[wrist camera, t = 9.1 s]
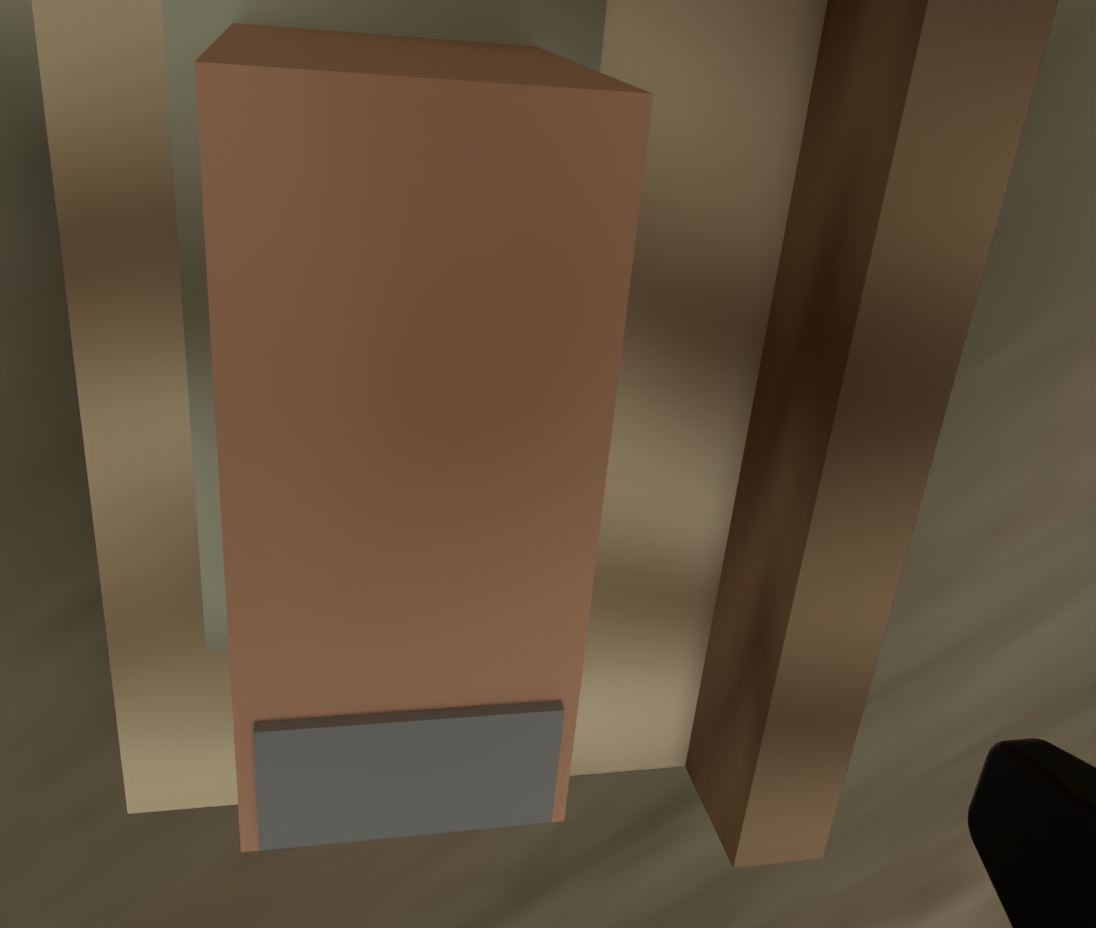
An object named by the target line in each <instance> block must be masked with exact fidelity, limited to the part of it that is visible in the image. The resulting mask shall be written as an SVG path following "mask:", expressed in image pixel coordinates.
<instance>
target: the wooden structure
mask: <svg viewBox="0 0 1096 928" xmlns="http://www.w3.org/2000/svg"><path fill="white" fill-rule="evenodd" d="M31 2H32V11H33V19H34V28H35V36H36V44H37V53H38V61H39V70H40V78H41V87H42V95H43V104H44V112H45V120H46V129H47V137H48V146H49V154H50V163H51V171H52V180H53V188H54V196H55V205H56V213H57V222H58V230H59V239H60V247H61V256H62V264H63V272H64V281H65V289H66V298H67V306H68V315H69V323H70V331H71V340H72V348H73V357H74V365H75V374H76V382H77V391H78V399H79V407H80V416H81V424H82V433H83V441H84V450H85V458H86V467H87V475H88V483H89V492H90V500H91V509H92V517H93V526H94V534H95V543H96V551H97V559H98V568H99V576H100V585H101V593H102V602H103V610H104V619H105V627H106V635H107V644H108V652H109V661H110V669H111V678H112V686H113V694H114V703H115V711H116V720H117V728H118V737H119V745H120V754H121V762H122V770H123V779H124V787H125V796H126V804H127V813H128V814H131V813H142V812H154V811H166V810H177V809H189V808H201V807H212V806H224V805H236V804H238V795H237V778H236V761H235V744H234V727H233V710H232V693H231V676H230V659H229V642H228V625H227V608H226V591H225V574H224V557H223V540H222V523H221V506H220V489H219V472H218V455H217V438H216V421H215V404H214V387H213V370H212V353H211V336H210V319H209V302H208V285H207V268H206V251H205V234H204V217H203V200H202V183H201V166H200V149H199V132H198V115H197V98H196V81H195V64H194V62H195V61H196V60H197V58H198V57H199V56H200V55H201V54H202V53H203V52H204V51H205V50H206V49H207V48H208V47H209V46H210V45H211V44H212V43H213V42H214V41H215V40H216V39H217V38H218V37H219V36H220V35H221V34H222V33H223V32H224V31H225V30H226V29H227V28H228V27H229V26H230V25H231V24H232V23H239V24H252V25H265V26H278V27H290V28H303V29H316V30H329V31H341V32H354V33H367V34H380V35H392V36H405V37H418V38H431V39H443V40H456V41H469V42H482V43H494V44H507V45H520V46H533V47H538V48H541V49H543V50H546V51H548V52H551V53H553V54H556V55H558V56H561V57H563V58H566V59H568V60H571V61H573V62H576V63H578V64H581V65H583V66H586V67H588V68H591V69H593V70H596V71H598V72H601V73H603V74H606V75H608V76H611V77H613V78H616V79H618V80H621V81H623V82H626V83H628V84H631V85H633V86H636V87H638V88H640V89H643V90H645V91H648V92H650V93H653V101H652V109H651V117H650V126H649V134H648V142H647V150H646V158H645V166H644V174H643V183H642V191H641V199H640V207H639V215H638V223H637V232H636V240H635V248H634V256H633V264H632V272H631V280H630V289H629V297H628V305H627V313H626V321H625V329H624V338H623V346H622V354H621V362H620V370H619V378H618V386H617V395H616V403H615V411H614V419H613V427H612V435H611V443H610V452H609V460H608V468H607V476H606V484H605V492H604V501H603V509H602V517H601V525H600V533H599V541H598V549H597V558H596V566H595V574H594V582H593V590H592V598H591V607H590V615H589V623H588V631H587V639H586V647H585V655H584V664H583V672H582V680H581V688H580V696H579V704H578V712H577V721H576V729H575V737H574V745H573V753H572V761H571V770H570V776H573V775H585V774H597V773H608V772H620V771H631V770H643V769H655V768H666V767H678V766H685V767H686V769H687V771H688V773H689V775H690V777H691V779H692V781H693V784H694V786H695V788H696V790H697V792H698V794H699V796H700V798H701V801H702V803H703V805H704V807H705V809H706V811H707V813H708V815H709V818H710V820H711V822H712V824H713V826H714V828H715V830H716V832H717V835H718V837H719V839H720V841H721V843H722V845H723V847H724V849H725V852H726V854H727V856H728V858H729V860H730V862H731V864H732V866H733V868H738V867H747V866H756V865H765V864H774V863H783V862H792V861H801V860H810V859H819V858H823V856H824V852H825V848H826V845H827V841H828V837H829V834H830V830H831V826H832V823H833V819H834V815H835V812H836V808H837V805H838V801H839V797H840V794H841V790H842V786H843V783H844V779H845V775H846V772H847V768H848V764H849V761H850V757H851V754H852V750H853V746H854V743H855V739H856V735H857V732H858V728H859V724H860V721H861V717H862V713H863V710H864V706H865V703H866V699H867V695H868V692H869V688H870V684H871V681H872V677H873V673H874V670H875V666H876V662H877V659H878V655H879V652H880V648H881V644H882V641H883V637H884V633H885V630H886V626H887V622H888V619H889V615H890V611H891V608H892V604H893V601H894V597H895V593H896V590H897V586H898V582H899V579H900V575H901V571H902V568H903V564H904V561H905V557H906V553H907V550H908V546H909V542H910V539H911V535H912V531H913V528H914V524H915V520H916V517H917V513H918V510H919V506H920V502H921V499H922V495H923V491H924V488H925V484H926V480H927V477H928V473H929V469H930V466H931V462H932V459H933V455H934V451H935V448H936V444H937V440H938V437H939V433H940V429H941V426H942V422H943V418H944V415H945V411H946V408H947V404H948V400H949V397H950V393H951V389H952V386H953V382H954V378H955V375H956V371H957V367H958V364H959V360H960V357H961V353H962V349H963V346H964V342H965V338H966V335H967V331H968V327H969V324H970V320H971V316H972V313H973V309H974V306H975V302H976V298H977V295H978V291H979V287H980V284H981V280H982V276H983V273H984V269H985V265H986V262H987V258H988V255H989V251H990V247H991V244H992V240H993V236H994V233H995V229H996V225H997V222H998V218H999V214H1000V211H1001V207H1002V204H1003V200H1004V196H1005V193H1006V189H1007V185H1008V182H1009V178H1010V174H1011V171H1012V167H1013V163H1014V160H1015V156H1016V153H1017V149H1018V145H1019V142H1020V138H1021V134H1022V131H1023V127H1024V123H1025V120H1026V116H1027V112H1028V109H1029V105H1030V102H1031V98H1032V94H1033V91H1034V87H1035V83H1036V80H1037V76H1038V72H1039V69H1040V65H1041V61H1042V58H1043V54H1044V51H1045V47H1046V43H1047V40H1048V36H1049V32H1050V29H1051V25H1052V21H1053V18H1054V14H1055V10H1056V7H1057V3H1058V0H31Z"/></svg>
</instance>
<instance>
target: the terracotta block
mask: <svg viewBox="0 0 1096 928" xmlns="http://www.w3.org/2000/svg"><path fill="white" fill-rule="evenodd" d="M194 64H195V81H196V98H197V115H198V132H199V149H200V166H201V183H202V200H203V217H204V234H205V251H206V268H207V285H208V302H209V319H210V336H211V353H212V370H213V387H214V404H215V421H216V438H217V455H218V472H219V489H220V506H221V523H222V540H223V557H224V574H225V591H226V608H227V625H228V642H229V659H230V676H231V693H232V710H233V727H234V744H235V761H236V778H237V795H238V812H239V829H240V846H241V852H249V851H263V850H273V849H284V848H294V847H304V846H314V845H325V844H335V843H345V842H356V841H366V840H376V839H386V838H397V837H407V836H417V835H427V834H438V833H448V832H458V831H469V830H479V829H489V828H499V827H510V826H520V825H530V824H541V823H551V822H558V821H564V818H565V810H566V802H567V794H568V786H569V778H570V770H571V761H572V753H573V745H574V737H575V729H576V721H577V712H578V704H579V696H580V688H581V680H582V672H583V664H584V655H585V647H586V639H587V631H588V623H589V615H590V607H591V598H592V590H593V582H594V574H595V566H596V558H597V549H598V541H599V533H600V525H601V517H602V509H603V501H604V492H605V484H606V476H607V468H608V460H609V452H610V443H611V435H612V427H613V419H614V411H615V403H616V395H617V386H618V378H619V370H620V362H621V354H622V346H623V338H624V329H625V321H626V313H627V305H628V297H629V289H630V280H631V272H632V264H633V256H634V248H635V240H636V232H637V223H638V215H639V207H640V199H641V191H642V183H643V174H644V166H645V158H646V150H647V142H648V134H649V126H650V117H651V109H652V101H653V93H650V92H648V91H645V90H643V89H640V88H638V87H636V86H633V85H631V84H628V83H626V82H623V81H621V80H618V79H616V78H613V77H611V76H608V75H606V74H603V73H601V72H598V71H596V70H593V69H591V68H588V67H586V66H583V65H581V64H578V63H576V62H573V61H571V60H568V59H566V58H563V57H561V56H558V55H556V54H553V53H551V52H548V51H546V50H543V49H541V48H538V47H533V46H520V45H507V44H494V43H482V42H469V41H456V40H443V39H431V38H418V37H405V36H392V35H380V34H367V33H354V32H341V31H329V30H316V29H303V28H290V27H278V26H265V25H252V24H239V23H232V24H231V25H230V26H229V27H228V28H227V29H226V30H225V31H224V32H223V33H222V34H221V35H220V36H219V37H218V38H217V39H216V40H215V41H214V42H213V43H212V44H211V45H210V46H209V47H208V48H207V49H206V50H205V51H204V52H203V53H202V54H201V55H200V56H199V57H198V58H197V60H196V61H195V62H194Z"/></svg>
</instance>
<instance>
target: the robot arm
mask: <svg viewBox="0 0 1096 928" xmlns="http://www.w3.org/2000/svg"><path fill="white" fill-rule="evenodd" d="M968 826H969V830H970V834H971V838H972V840H973V843H974V845H975V847H976V849H977V851H978V854H979V856H980V858H981V860H982V862H983V864H984V867H985V869H986V871H987V873H988V875H989V877H990V880H991V882H992V884H993V886H994V888H995V890H996V893H997V895H998V897H999V899H1000V901H1001V903H1002V906H1003V908H1004V910H1005V912H1006V914H1007V916H1008V919H1009V921H1010V923H1011V925H1012V927H1013V928H1096V768H1095V767H1094V766H1092V765H1090V764H1088V763H1086V762H1084V761H1082V760H1081V759H1079V758H1077V757H1075V756H1073V755H1071V754H1069V753H1068V752H1066V751H1064V750H1062V749H1060V748H1058V747H1056V746H1055V745H1053V744H1051V743H1049V742H1047V741H1045V740H1041V739H1034V738H1031V739H1019V740H1007V741H1001V742H998V743H996V744H995V745H994V746H993V747H992V748H991V749H990V750H989V752H988V754H987V757H986V760H985V763H984V766H983V769H982V771H981V774H980V777H979V780H978V783H977V786H976V789H975V791H974V794H973V797H972V800H971V803H970V806H969V810H968Z"/></svg>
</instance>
